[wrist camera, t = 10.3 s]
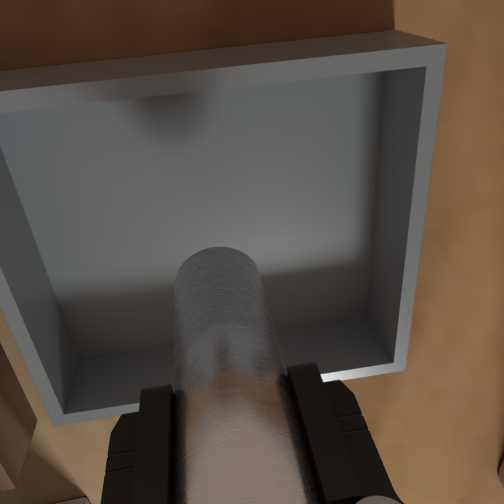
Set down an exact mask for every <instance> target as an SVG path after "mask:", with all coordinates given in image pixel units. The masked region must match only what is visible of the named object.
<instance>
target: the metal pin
mask: <svg viewBox="0 0 504 504" xmlns="http://www.w3.org/2000/svg"><path fill="white" fill-rule="evenodd" d="M173 504H322V503H321V499H320V495H319V491H318V488H317V484H316V480H315V477H314V473H313V469H312V466H311V462H310V458H309V454H308V451H307V447H306V443H305V440H304V436H303V432H302V429H301V425H300V421H299V417H298V414H297V410H296V406H295V403H294V399H293V395H292V391H291V388H290V384H289V380H288V377H287V371H286V368H285V364H284V360H283V357H282V353H281V349H280V346H279V342H278V338H277V335H276V331H275V327H274V324H273V320H272V316H271V312H270V309H269V305H268V301H267V298H266V294H265V290H264V287H263V283H262V279H261V276H260V272H259V269H258V267H257V265H256V264H255V262H254V261H253V260H252V259H251V258H250V257H249V256H248V255H246V254H245V253H243V252H241V251H239V250H237V249H233V248H229V247H212V248H207V249H204V250H201V251H199V252H196V253H195V254H193V255H191V256H190V257H189V258H187V259H186V260H185V261H184V262H183V264H182V265H181V266H180V268H179V270H178V272H177V274H176V278H175V318H174V448H173Z"/></svg>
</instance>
